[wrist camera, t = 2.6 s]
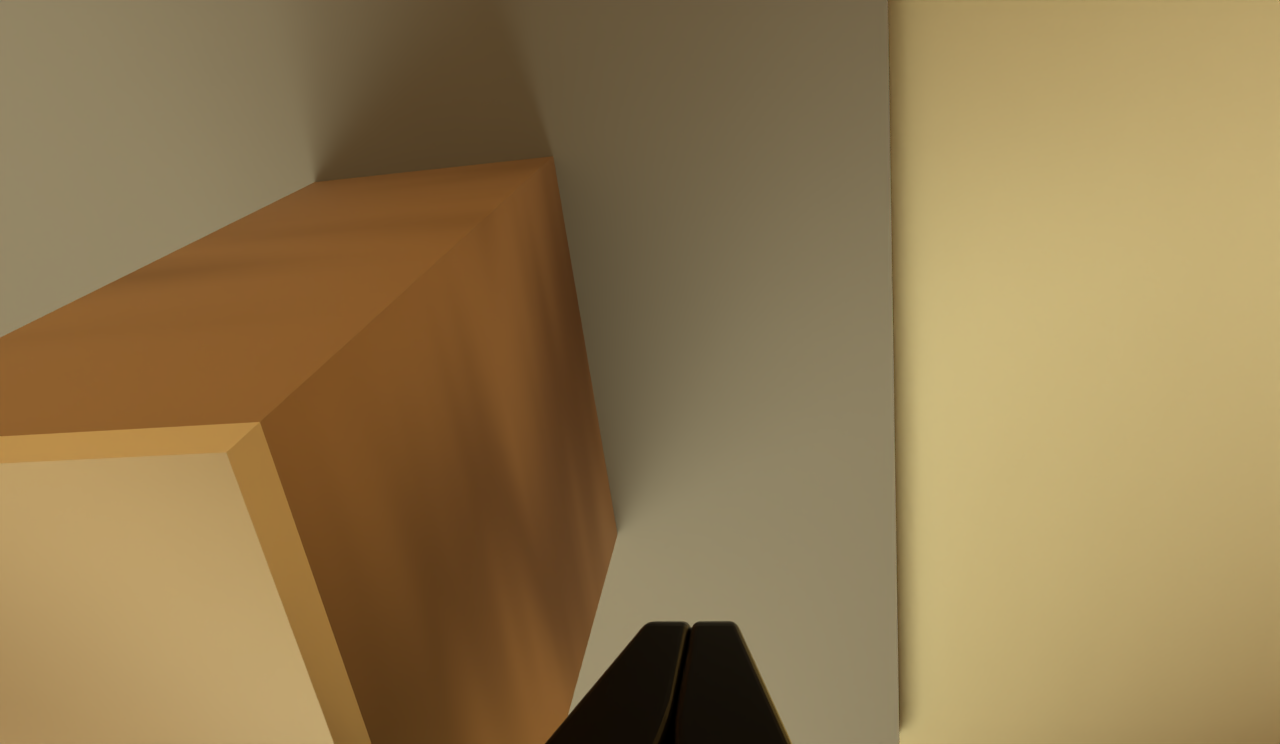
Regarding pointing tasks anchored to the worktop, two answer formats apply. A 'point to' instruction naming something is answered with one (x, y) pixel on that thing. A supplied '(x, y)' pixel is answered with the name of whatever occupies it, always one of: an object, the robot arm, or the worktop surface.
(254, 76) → the mat
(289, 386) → the block
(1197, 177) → the worktop surface
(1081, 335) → the worktop surface
